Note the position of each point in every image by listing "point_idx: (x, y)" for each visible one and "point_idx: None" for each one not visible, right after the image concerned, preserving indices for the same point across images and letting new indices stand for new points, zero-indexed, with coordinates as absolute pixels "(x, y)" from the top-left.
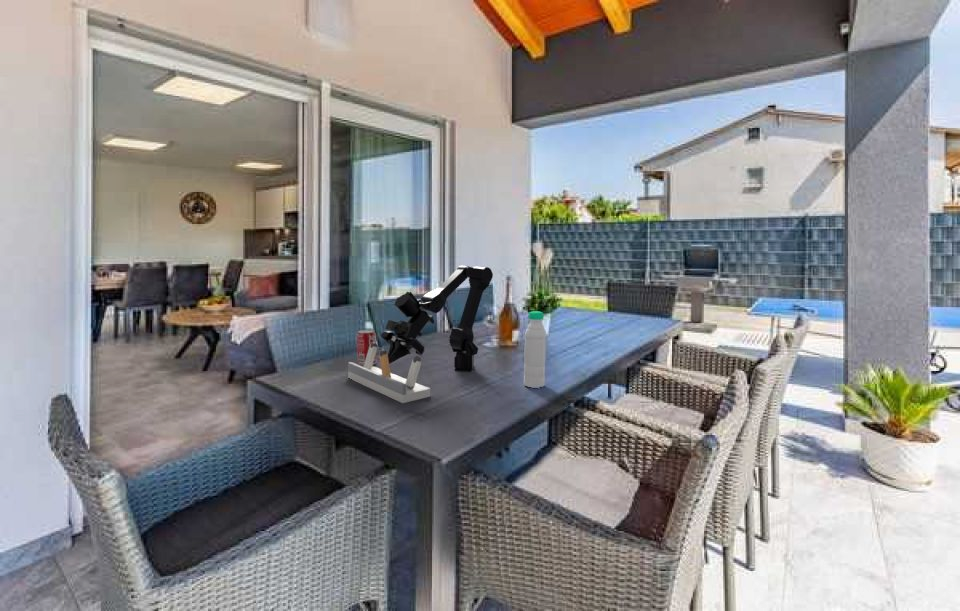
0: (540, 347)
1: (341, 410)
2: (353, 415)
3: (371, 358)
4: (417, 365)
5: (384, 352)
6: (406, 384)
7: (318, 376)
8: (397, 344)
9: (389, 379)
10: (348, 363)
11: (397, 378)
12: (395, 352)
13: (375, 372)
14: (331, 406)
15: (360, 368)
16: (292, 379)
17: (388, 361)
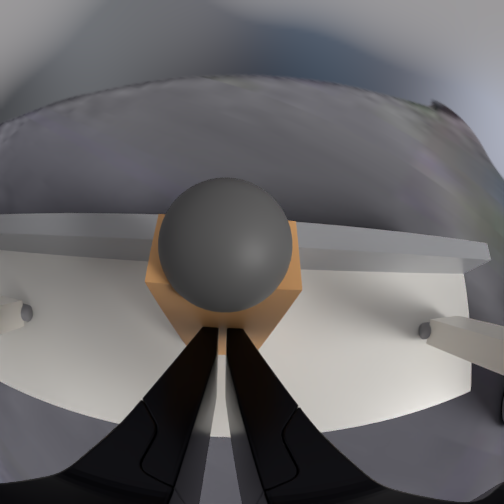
0: None
1: (129, 96)
2: (80, 107)
3: (474, 340)
4: None
5: (163, 226)
6: (14, 299)
7: (474, 208)
8: (10, 501)
9: (46, 216)
10: (481, 244)
11: None
12: (118, 433)
13: None
14: (176, 89)
15: (391, 232)
16: (460, 153)
17: (170, 320)
